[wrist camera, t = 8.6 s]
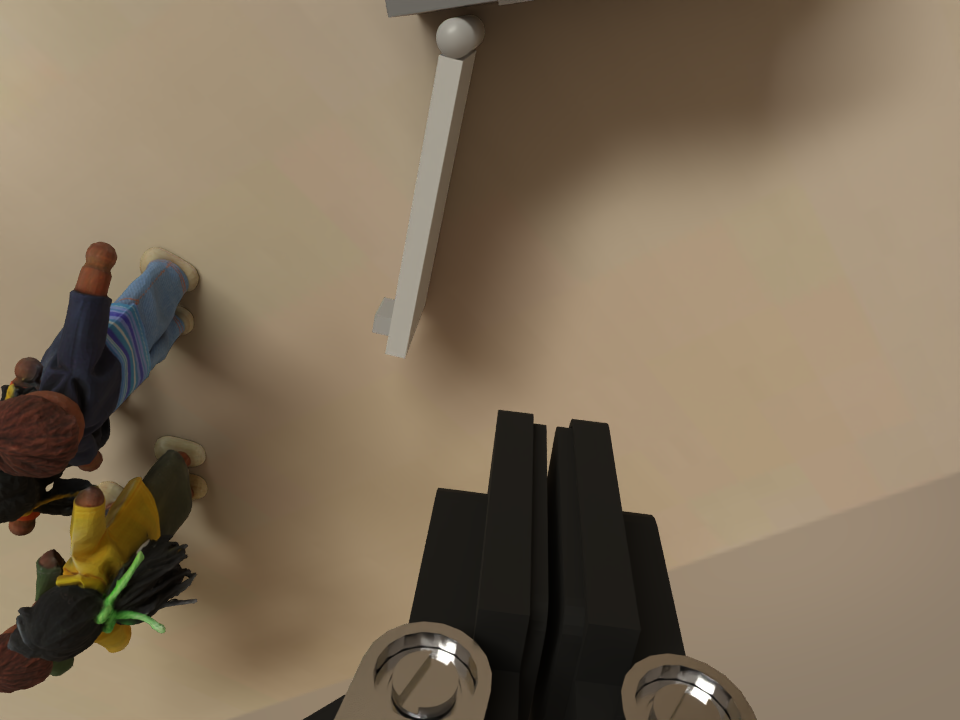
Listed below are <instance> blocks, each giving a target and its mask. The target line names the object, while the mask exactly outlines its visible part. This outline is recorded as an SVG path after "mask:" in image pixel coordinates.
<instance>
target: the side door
mask: <svg viewBox="0 0 960 720" xmlns="http://www.w3.org/2000/svg"><path fill="white" fill-rule="evenodd" d="M484 36H485V27H484V24H483V22H482V21H481V20H480V19H479V18H478V17H476V16H474V15H465V16H460V17H455V18H450V19H447V20H445V21H444V22H443V23H442V24H441V25H440V26H439V28H438V30H437V34H436V42H437V46H438V48H439V50H440V51H441V52H442V54H440V55H439V58H438V64H437V69H436V75H435V80H434V86H433V91H432V97H431V102H430V108H429V114H428V119H427V125H426V130H425V136H424V141H423V147H422V152H421V158H420V164H419V169H418V175H417V180H416V186H415V191H414V197H413V203H412V208H411V214H410V219H409V225H408V230H407V236H406V241H405V247H404V253H403V258H402V264H401V269H400V275H399V280H398V286H397V291H396V297H395V300H394V299H389V298H385V297H384V299H383V301H382V303H381V305H380V307H379V309H378V311H377V312H376V314H375V318H374V324H373V330H372V332H373V333H378V334H382V335H386V336H388V342H387V347H386V353H385V354H388V355H392V356H396V357H401V358H405V357H406V354H407V352H408V349H409V346H410V344H411V341H412V338H413V336H414V333H415V331H416V328H417V325H418V323H419V320H420V317H421V315H422V312H423V309H424V307H425V303H426V298H427V293H428V288H429V283H430V278H431V273H432V268H433V263H434V258H435V254H436V249H437V244H438V239H439V234H440V229H441V224H442V219H443V214H444V209H445V204H446V199H447V194H448V189H449V184H450V179H451V174H452V169H453V164H454V159H455V154H456V149H457V144H458V140H459V135H460V130H461V125H462V120H463V115H464V110H465V105H466V100H467V95H468V90H469V85H470V80H471V75H472V70H473V65H474V60H475V55H476V50H473V49H474V48H476V47H477V46H479V45H480V44H481V43H482V41H483V39H484Z"/></svg>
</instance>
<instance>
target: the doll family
mask: <svg viewBox="0 0 960 720" xmlns="http://www.w3.org/2000/svg"><path fill="white" fill-rule="evenodd" d="M116 260H117V254H116V251H115V249H114V248H113V247H112V246H111V245H109V244H107V243H104V242H97V243H93V244H91V245H90V247H89V248H88V249H87V252H86V263H85V265H84V266H83V267H82V269H81V271H80V274H79V277H78V281H77V284H76V287H75V289H74V290H73V291H71V292H70V298H69V305H68V310H67V315H66V319H65V324H64V327H63V329H62V330H61V331H60V332H59V334H58V335H57V337H56V338H55V339H54V341H53V343H52V345H51V346H50V347H49V348H48V350H47V351H46V352H45V354H44V356H43V358H42V360H41V362H39V361H38V360H37V359H35V358H32V357H28V358H23V359H21V360H20V361H19V362H18V363H17V364H16V367H15V375H16V378H15V379H14V380H13V381H11V384H10V385H3V386H2V387H1V388H2V398H1V400H0V523H5V522H9V529H10V531H11V532H12V533H13V534H15V535H18V536H22V535H26V534H29V533H30V532H31V531H32V530H33V529H34V527H35V519H36V518H37V517H38V516H39V515H40V513H43V514H50V515H63V516H70V515H72V518H71V527H70V536H71V550H70V555H71V558H70V559H69V560H68V561H67V562H65V561H64V559H63V558H62V557H61V556H60V554H59V553H58V552H57V551H56V550H54V549H53V550H50V551H47V552H46V553H45V554H43V556H42V557H40V558H39V559H38V560H37V562H36V567H37V582H36V598H35V601H36V602H35V603H34V604H33V606H32V607H22V608H20V609H19V610H18V612H19V613H20V615H19V616H17V618H16V625H14V626H12V627H10V628H9V629H7V630H6V631H5V632H4V633H2V634H1V635H0V692H4V693H12V692H14V691H17V690H20V689H28V688H31V687H33V686H35V685H37V684H39V683H41V682H43V681H44V680H45V679H46V678H47V677H48V676H49V675H52V676H59V675H62V674H63V673H65V672H66V671H68V670H69V669H70V668H71V667H72V666H73V662H74V657H75V656H76V655H78V654H79V653H81V652H83V651H84V650H85V649H87V648H88V647H90V646H91V645H92V644H93V643H98V644H100V645H102V646H103V647H105V648H106V649H107V650H108V651H109V652H111V653H114V652H118V651H121V650H123V649H124V648H125V647H126V646H127V645H128V643H129V641H130V638H131V627H130V625H135V624H140V623H142V622H146V623H148V624H149V625H150V626H151V627H152V629H154V630H156V631H157V632H159V633H164V632H166V631H165V627H164V625H162V624H160V623H158V622H156V621H155V620H154V619H152V618H151V616H153V615H154V614H155V613H156V612H157V611H158V610H159V609H162V608H164V607H169V606H175V605H183V604H189V603H193V604H194V603H196V602H197V599H190V600H178V599H171V600H170V601H168V600H169V599H170V598H173V597H174V596H178V595H179V594H180V593H181V592H182V591H184V590H186V589H187V587H188V586H190V585H191V583H192V581H193V579H194V578H195V576H196V575H197V574H196V573H191V570H189V569H187V568H185V569H182V568H181V567H180V565H179V563H180V562H181V561H182V560H183V559H185V558H187V557H188V556H187V555H186V554H185V548H186V547H188V545H187V544H183V545H181V546H179V544H178V542H169V540H170V539H171V538H172V537H173V535H174V534H175V532H176V531H177V530H178V529H179V527H180V526H181V525H182V524H183V522H184V521H185V520H186V519H187V517H188V515H189V513H190V511H191V508H192V500H194V499H199V498H202V497H204V496H205V495H206V493H207V491H208V488H207V484H206V482H205V480H204V479H202V478H201V477H199V476H196V475H193V474H189V470H188V467H195V466H199V465H201V464H202V463H203V462H204V461H205V458H206V457H205V451H204V449H203V447H201V446H200V445H199V444H197V443H194V442H192V441H188V440H185V439H182V438H177V437H172V436H164V437H161V438H159V439H158V440H157V441H156V444H155V447H154V453H155V457H156V458H157V462H156V463H155V464H154V466H153V467H152V468H151V469H150V470H149V472H148V473H147V475H146V476H145V477H144V479H143V480H142V478H141V477H136V478H134V479H132V480H130V481H129V482H128V484H127V485H126V486H125V488H124V489H123V488H122V487H121V486H120V485H118V484H116V483H114V482H102V483H101V484H99V485H98V486H96V485H92V484H91V483H90V482H89V481H88V480H83V479H77V478H72V479H61V478H60V477H61V476H62V474H63V471H64V470H65V469H66V468H68V467H70V466H78V467H79V468H80V469H81V470H84V471H89V472H91V471H93V470H96V469H98V468H99V467H100V465H101V463H102V461H103V458H102V454H101V453H100V452H99V451H98V450H99V449H100V448H101V447H103V446H104V445H105V443H106V442H107V440H108V439H109V436H110V420H109V416H110V415H111V414H112V413H113V412H114V411H115V410H116V409H117V408H118V407H119V406H120V405H121V404H122V403H123V402H124V401H125V400H126V399H127V397H128V396H129V395H130V394H131V393H132V392H133V391H134V390H135V389H136V388H137V387H138V386H139V385H140V384H141V383H142V382H143V381H144V380H145V379H146V378H147V377H148V376H149V373H150V371H151V370H152V369H153V368H154V366H155V365H156V364H158V363H160V362H161V361H162V360H164V359H165V357H166V356H167V353H168V352H169V350H170V348H171V347H172V345H173V343H174V342H175V341H176V339H177V338H178V337H179V336H180V335H184V334H187V333H190V332H191V330H192V329H193V327H194V320H193V316H192V314H191V313H190V312H189V311H188V310H186V309H185V308H183V307H180V306H177V305H178V303H179V302H180V300H181V298H182V297H183V295H184V294H185V292H189V291H192V290H194V288H195V287H196V286H197V283H198V280H199V276H198V273H197V271H196V269H195V268H194V267H193V266H192V265H191V264H189V263H188V262H186V261H184V260H183V259H181V258H179V257H177V256H176V255H174V254H172V253H170V252H168V251H166V250H164V249H162V248H151V249H149V250H147V251H146V252H145V253H144V254H143V256H142V258H141V261H140V270H141V273H142V275H141V276H139V277H138V278H137V279H136V280H134V281H133V282H132V283H131V284H130V285H129V286H128V288H127V289H126V290H125V291H124V292H123V294H122V295H121V296H120V297H119V298H118V299H117V300H116V301H115V302H114V303H112V299H111V298H109V297H108V296H107V292H108V288H109V285H110V281H111V278H112V276H111V272H110V270H111V269H112V267H113V266H114V264H115V263H116ZM111 303H112V304H111ZM52 482H54V484H53V488H52V489H51V490H50V491H46V489H45V488H46V486H47V485H49V484H51V483H52ZM184 576H187V577H189V579H187V580H185V581H184V582H182V580H183V578H184ZM167 601H168V602H167Z"/></svg>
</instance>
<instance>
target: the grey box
mask: <svg viewBox="0 0 960 720" xmlns="http://www.w3.org/2000/svg"><path fill="white" fill-rule="evenodd" d="M525 1H532V0H385V2H386V7H387V13H388V17H397V16H406V15H415V14H422V13H428V12H435V11H441V10H447V9H454V8H460V7H466V6H473V5H479V4H485V3H492V2H498V3H499V5H506V4H513V3H519V2H525Z"/></svg>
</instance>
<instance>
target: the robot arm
mask: <svg viewBox="0 0 960 720" xmlns="http://www.w3.org/2000/svg"><path fill="white" fill-rule="evenodd" d="M533 422H534V416H533V414H528V413H520V412H512V411H504V410H498V416H497V424H496V432H495V439H494V447H493V455H492V462H491V470H490V478H489V486H488V493H487V494H483V493H476V492H468V491H460V490H452V489H444V488H438V489H437V493H436V497H435V502H434V506H433V511H432V516H431V521H430V525H429V530H428V535H427V539H426V544H425V549H424V554H423V558H422V563H421V568H420V573H419V577H418V582H417V587H416V591H415V596H414V601H413V606H412V610H411V615H410V620H409V623H408V624H404V625H401V626H399V627H396V628H394V629H391V630H389V631H387V632H386V633H384V634H383V635H382V636H381V637H379V638H378V639H377V640H375V641H374V642H373V643H372V645H371V646H370V648H369V649H368V651H367V652H366V653H365V655H364V656H363V658H362V660H361V662H360V665H359V667H358V669H357V671H356V673H355V675H354V678H353V680H352V682H351V684H350V686H349V689H348V691H347V693H346V695H343V696H342V697H340V698H339V699H337V700H335V701H334V702H332V703H330V704H328V705H327V706H325V707H323V708H322V709H320V710H318V711H317V712H315V713H313V714H312V715H310V716H308V717H307V718H305V719H303V720H757V719H756V716H755V714H754V712H753V710H752V708H751V706H750V705H749V703H748V702H747V700H746V698H745V697H744V695H743V694H742V692H741V691H740V690H739V689H738V688H737V687H736V686H735V685H734V684H733V683H732V682H731V681H730V680H729V679H728V678H727V677H726V676H725V675H724V674H722V673H720V672H719V671H717V670H716V669H714V668H713V667H711V666H710V665H708V664H706V663H704V662H701V661H698V660H696V659H693V658H691V657H688V656H686V655H685V651H684V646H683V642H682V637H681V632H680V628H679V623H678V619H677V614H676V610H675V605H674V600H673V597H672V591H671V587H670V582H669V578H668V573H667V568H666V564H665V559H664V555H663V550H662V545H661V541H660V536H659V532H658V527H657V524H656V521H655V518H654V517H653V516H652V515H648V514H640V513H632V512H624V511H622V507H621V500H620V494H619V488H618V481H617V475H616V468H615V462H614V456H613V449H612V443H611V437H610V430H609V426H608V424H607V423H600V422H592V421H584V420H576V419H572V420H571V422H570V425H569V428H565V427H557V428H556V431H555V437H554V442H553V448H552V454H551V459H550V465H549V471H548V476H547V430H546V425H541V424H533Z"/></svg>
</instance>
